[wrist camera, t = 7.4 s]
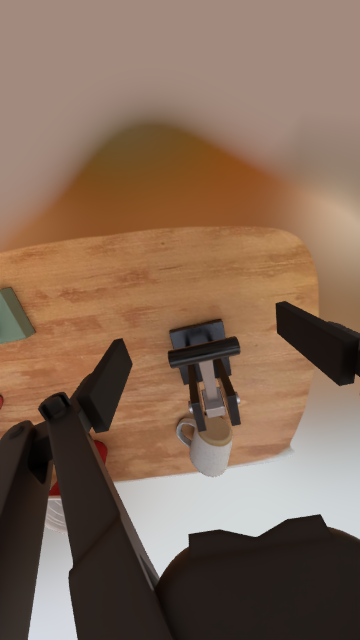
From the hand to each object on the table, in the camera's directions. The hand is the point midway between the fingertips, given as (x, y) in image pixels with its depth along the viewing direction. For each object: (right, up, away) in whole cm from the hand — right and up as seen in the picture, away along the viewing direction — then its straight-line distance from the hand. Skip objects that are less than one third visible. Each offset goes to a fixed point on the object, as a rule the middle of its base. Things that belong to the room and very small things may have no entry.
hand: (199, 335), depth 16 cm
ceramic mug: (+3, -22, +25) cm, 33 cm away
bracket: (+2, -5, +18) cm, 19 cm away
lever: (+1, -4, +4) cm, 6 cm away
